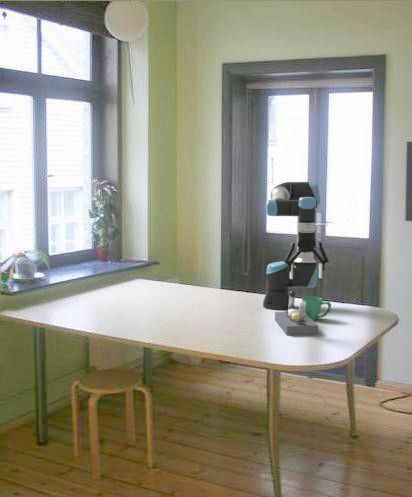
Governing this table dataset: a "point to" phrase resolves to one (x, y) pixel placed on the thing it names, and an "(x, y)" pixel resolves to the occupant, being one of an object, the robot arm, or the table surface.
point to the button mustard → (295, 317)
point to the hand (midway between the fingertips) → (305, 278)
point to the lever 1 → (291, 300)
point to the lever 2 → (301, 311)
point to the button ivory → (292, 312)
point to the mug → (315, 307)
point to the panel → (296, 325)
